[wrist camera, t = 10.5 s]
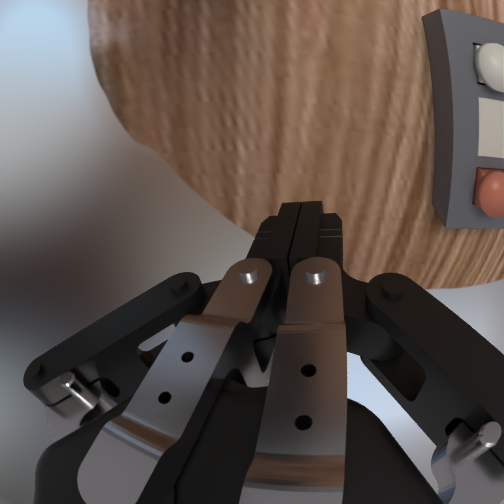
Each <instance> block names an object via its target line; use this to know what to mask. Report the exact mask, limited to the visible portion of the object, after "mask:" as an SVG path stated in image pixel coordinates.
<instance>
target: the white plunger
mask: <svg viewBox="0 0 504 504" xmlns="http://www.w3.org/2000/svg"><path fill="white" fill-rule="evenodd" d="M473 49H474V56H475V67H476V75H477V82H481V83H485V84H486V85H487V86H488V87H489V88H491V89H493V90H497V91H500V92H504V46H502V45H500V44H497V43H485V44H482V45H480V46H479V45H473Z"/></svg>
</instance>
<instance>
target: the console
mask: <svg viewBox="0 0 504 504" xmlns="http://www.w3.org/2000/svg"><path fill="white" fill-rule="evenodd" d="M422 19H423V24H424V29H425V35H426V40H427V46H428V53H429V60H430V67H431V76H432V86H433V99H434V118H435V165H434V185H433V198H432V204H433V206H434V208H435V210H436V212H437V213H438V215H439V217H440V219H441V221H442V223H443V225H444V226H445V228H446V229H504V216H503V217H500V218H492V217H489V216H488V215H487V214H486V213H485V212H484V211H483V210H482V208H481V207H477V205H476V204H475V203H474V202H473V194H474V186H475V177H476V167H483V168H495V169H502V170H504V92H500V91H497V90H493V89H491V88H489V87H488V86H487V85H486V84H485V83H481V82H477V75H476V67H475V56H474V49H473V45H479V46H480V45H482V44H485V43H497V44H500V45H502V46H504V24H503V23H500V22H497V21H493V20H490V19H486V18H482V17H479V16H475V15H470V14H466V13H461V12H456V11H451V10H445V9H438V10H435V11H433V12H431V13H429V14H427V15H424V16H422Z"/></svg>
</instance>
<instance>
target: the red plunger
mask: <svg viewBox="0 0 504 504" xmlns="http://www.w3.org/2000/svg"><path fill="white" fill-rule="evenodd" d="M473 202H474V203H475V204H476V205H477V207H481V208H482V210H483V211H484V212H485V213H486V214H487V215H488V216H489V217H492V218H500V217H503V216H504V170H502V169H495V168H483V167H476V177H475V186H474V194H473Z"/></svg>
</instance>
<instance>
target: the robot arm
mask: <svg viewBox="0 0 504 504" xmlns="http://www.w3.org/2000/svg"><path fill="white" fill-rule="evenodd" d="M171 324H174V325H175V327H176V328H175V330H174V332H173V333H172V335H171V336H170V338H169V339H168V340H166V341H165V342H163V343H161V344H160V345H158V346H156V347H155V348H153V349H152V350H150V351H141V350H140V349H139V348H138V346H139V345H140V344H141V343H142V342H143V341H145V340H147V339H149V338H150V337H152V336H153V335H155V334H157V333H158V332H160V331H161V330H163V329H165V328H166V327H168V326H170V325H171ZM347 352H350V353H353V354H356V355H359V356H360V358H361V360H362V362H363V364H364V365H365V366H366V367H367V368H368V369H369V371H370V372H371V373H372V374H373V375H374V376H375V377H376V378H377V379H378V381H379V382H380V383H381V384H382V385H383V386H384V387H385V389H386V390H387V391H388V392H389V393H390V394H391V395H392V396H393V397H394V399H395V400H396V401H397V402H398V403H399V404H400V405H401V406H402V408H403V409H404V410H405V411H406V412H407V413H408V414H409V416H410V417H411V418H412V419H413V420H414V421H415V422H416V423H417V425H418V426H419V427H420V428H421V429H422V430H423V431H424V432H425V434H426V435H427V436H428V437H429V438H430V439H431V440H432V442H433V443H434V444H435V445H436V446H437V447H436V449H435V451H434V453H433V455H432V459H431V469H432V473H433V475H434V476H435V478H436V480H437V483H438V488H439V491H438V495H437V494H436V492H435V491H434V490H433V488H432V487H431V486H430V484H429V483H428V482H427V480H426V479H425V478H424V476H423V475H422V474H421V473H420V471H419V470H418V469H417V467H416V466H415V465H414V463H413V462H412V461H411V460H410V458H409V457H408V456H407V454H406V453H405V452H404V450H403V449H402V448H401V446H400V445H399V444H398V442H397V441H396V440H395V438H394V437H393V436H392V434H391V433H390V432H389V431H388V429H387V428H386V426H385V425H384V424H383V423H382V421H380V419H379V418H378V417H377V416H376V415H375V414H374V413H373V412H371V411H370V410H369V409H367V408H366V407H365V406H363V405H361V404H359V403H358V402H356V401H353V400H351V399H348V398H347ZM23 381H24V386H25V387H26V388H27V389H28V390H29V391H30V392H31V393H32V394H33V395H34V396H36V397H37V398H38V399H39V400H40V401H41V402H42V403H43V405H44V407H45V412H46V418H47V424H48V428H49V433H50V438H51V442H52V444H51V445H50V446H49V447H48V448H46V450H45V451H44V452H43V453H42V455H41V457H40V459H39V461H38V464H37V466H36V472H35V492H34V493H35V494H34V501H33V504H499V503H500V502H501V501H502V500H503V499H504V355H503V354H502V353H501V352H500V351H499V350H498V349H497V348H495V347H494V346H493V345H492V344H491V343H490V342H489V341H487V340H486V339H485V338H484V337H483V336H481V335H480V334H479V333H478V332H477V331H476V330H475V329H473V328H472V327H471V326H470V325H469V324H467V323H466V322H465V321H464V320H462V319H461V318H460V317H459V316H458V315H456V314H455V313H453V311H451V310H450V309H448V307H446V306H445V305H444V304H443V303H441V302H440V301H439V300H437V299H436V298H435V297H433V296H432V295H431V294H430V293H428V292H427V291H426V290H424V289H423V288H422V287H420V286H419V285H418V284H416V283H415V282H414V281H412V280H411V279H410V278H408V277H406V276H404V275H402V274H398V273H383V274H380V275H377V276H375V277H374V278H372V279H371V280H370V281H369V283H367V282H363V281H359V280H356V279H354V278H352V277H350V276H349V275H348V274H346V272H345V271H344V270H343V235H342V220H341V219H340V217H339V216H338V215H337V214H336V213H327V214H324V212H323V204H322V201H308V202H290V203H282V205H281V208H280V210H279V213H278V216H269V217H268V218H267V219H266V220H265V221H263V222H262V223H261V225H260V227H259V230H258V233H257V234H256V237H255V240H254V241H253V243H252V246H251V248H250V250H249V253H248V255H247V257H246V259H244V260H241V261H239V262H237V263H235V264H234V265H233V266H231V267H230V268H229V270H228V271H227V272H226V274H225V276H224V278H223V279H222V280H219V281H214V282H209V283H205V284H202V283H201V281H200V278H199V276H198V275H196V274H194V273H191V272H183V273H179V274H176V275H173V276H171V277H170V278H168V279H166V280H164V281H163V282H161V283H159V284H158V285H156V286H154V287H153V288H151V289H149V290H147V291H146V292H144V293H143V294H141V295H139V296H137V297H136V298H134V299H132V300H131V301H129V302H127V303H126V304H124V305H122V306H121V307H119V308H117V309H116V310H114V311H112V312H111V313H109V314H107V315H106V316H104V317H102V318H101V319H99V320H97V321H96V322H94V323H93V324H91V325H89V326H88V327H86V328H84V329H83V330H81V331H79V332H78V333H76V334H75V335H73V336H71V337H70V338H68V339H66V340H65V341H63V342H62V343H60V344H58V345H57V346H55V347H54V348H52V349H50V350H49V351H47V352H46V353H44V354H42V355H41V356H39V357H38V358H36V359H35V360H33V361H32V362H31V363H30V365H29V366H28V368H27V369H26V371H25V374H24V379H23ZM268 381H269V383H268Z"/></svg>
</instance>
